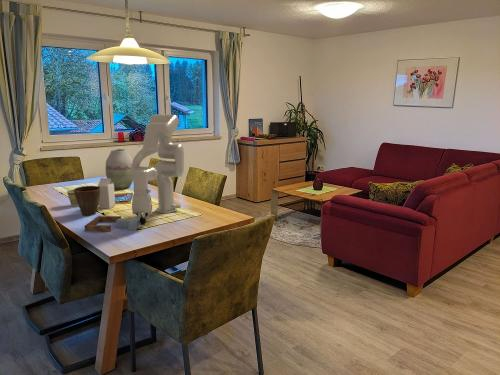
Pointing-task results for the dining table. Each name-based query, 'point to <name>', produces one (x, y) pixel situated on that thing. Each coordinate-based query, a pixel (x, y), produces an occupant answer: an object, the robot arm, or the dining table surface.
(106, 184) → the milk carton
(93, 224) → the corral
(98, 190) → the plant pot
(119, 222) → the t block
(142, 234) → the dining table surface
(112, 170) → the vase
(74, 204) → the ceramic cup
